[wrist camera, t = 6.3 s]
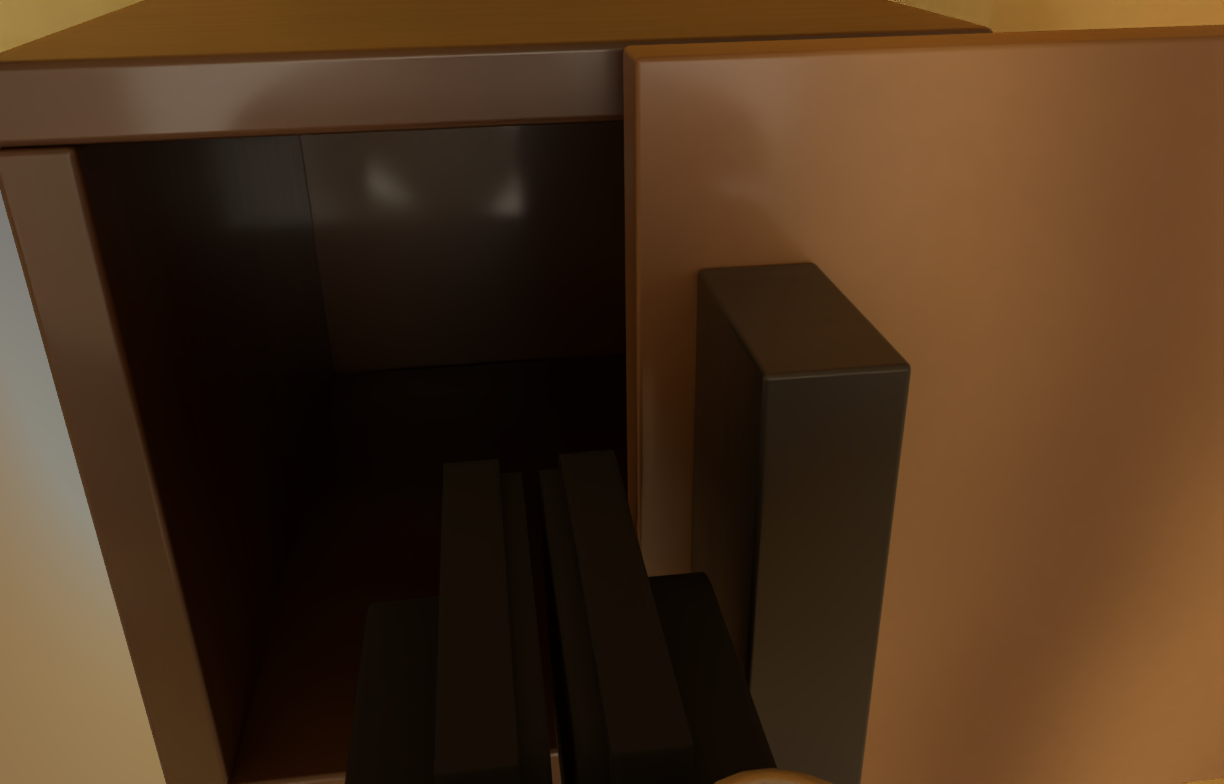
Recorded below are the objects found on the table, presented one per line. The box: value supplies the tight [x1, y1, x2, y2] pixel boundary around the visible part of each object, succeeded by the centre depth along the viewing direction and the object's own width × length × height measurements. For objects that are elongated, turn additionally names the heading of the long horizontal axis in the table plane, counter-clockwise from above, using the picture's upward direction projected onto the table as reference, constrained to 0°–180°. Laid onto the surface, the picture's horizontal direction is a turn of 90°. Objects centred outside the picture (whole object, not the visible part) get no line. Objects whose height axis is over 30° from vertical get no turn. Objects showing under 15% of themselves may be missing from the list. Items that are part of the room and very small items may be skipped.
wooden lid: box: [623, 25, 1224, 784], centre depth 11 cm, size 10×10×3 cm
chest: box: [0, 0, 993, 784], centre depth 18 cm, size 10×10×14 cm
